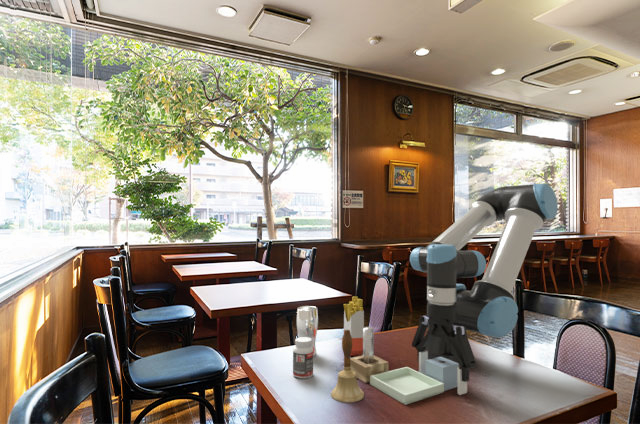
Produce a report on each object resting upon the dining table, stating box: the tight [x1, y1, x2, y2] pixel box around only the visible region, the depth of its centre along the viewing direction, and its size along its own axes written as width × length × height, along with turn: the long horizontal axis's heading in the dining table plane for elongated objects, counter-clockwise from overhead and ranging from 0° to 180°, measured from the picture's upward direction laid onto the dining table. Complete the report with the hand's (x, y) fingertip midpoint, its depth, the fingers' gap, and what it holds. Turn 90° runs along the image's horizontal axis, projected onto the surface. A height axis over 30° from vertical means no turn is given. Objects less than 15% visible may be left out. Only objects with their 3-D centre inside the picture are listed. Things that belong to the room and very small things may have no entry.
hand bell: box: [330, 330, 365, 404], centre depth 94 cm, size 8×8×16 cm
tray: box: [369, 366, 445, 406], centre depth 98 cm, size 13×13×2 cm
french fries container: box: [343, 296, 365, 357], centre depth 125 cm, size 5×11×18 cm, turn 9°
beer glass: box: [296, 305, 319, 358], centre depth 123 cm, size 7×7×15 cm
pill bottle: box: [292, 337, 314, 379], centre depth 106 cm, size 6×6×10 cm
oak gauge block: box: [350, 354, 390, 384], centre depth 107 cm, size 8×8×4 cm
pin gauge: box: [362, 326, 375, 364], centre depth 107 cm, size 3×3×13 cm
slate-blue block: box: [425, 357, 460, 392], centre depth 101 cm, size 6×6×6 cm
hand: (441, 383), depth 100 cm, fingers open, 12 cm apart
